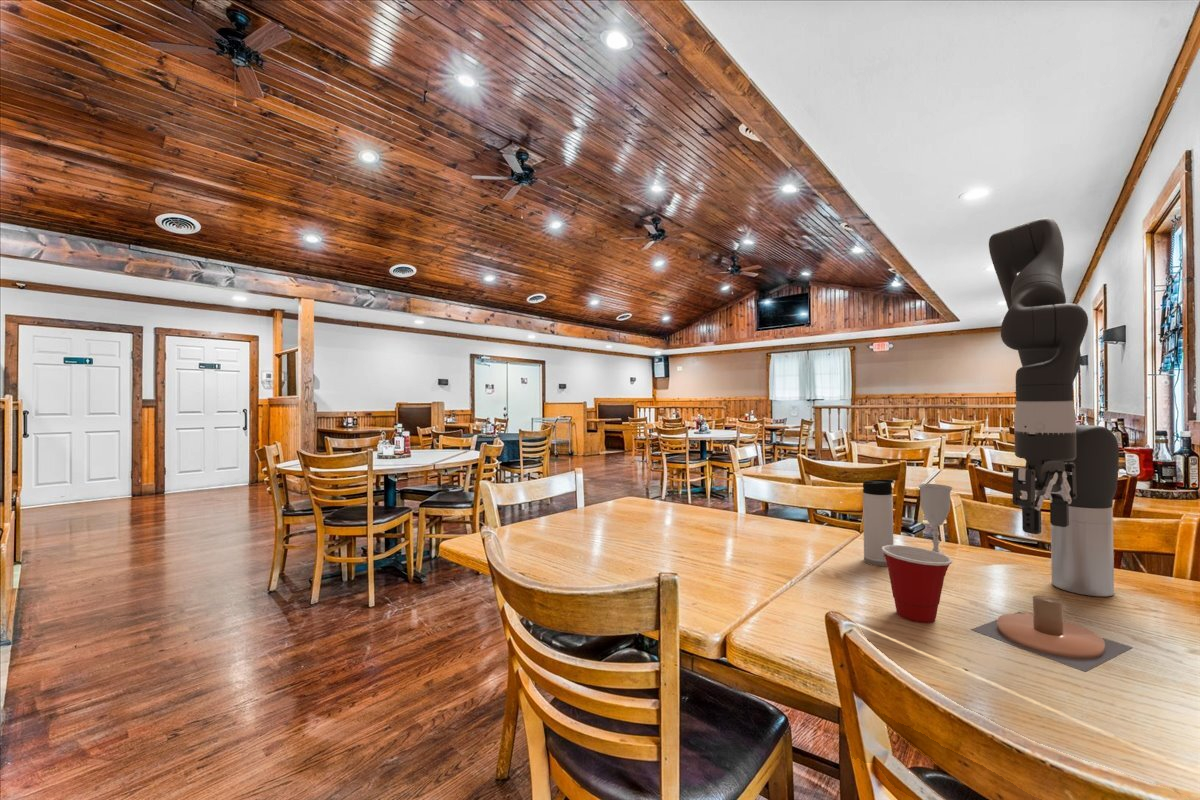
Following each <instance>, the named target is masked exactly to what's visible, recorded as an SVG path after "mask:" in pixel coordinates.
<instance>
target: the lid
mask: <svg viewBox="0 0 1200 800" xmlns="http://www.w3.org/2000/svg"><path fill="white" fill-rule="evenodd" d="M1063 606H1064V603H1063V601H1062V600H1061V599H1059V598H1056V597H1053V596H1049V595H1041V594H1040V595H1039V594H1037V595H1033V596H1032V613H1031V614H1030V613H1025V614H1014V613H1007V614H1003V615H1000V616H998V618H997V619H996V620H997V629H998V631H999V632H1000V633H1001V634H1002V635H1003V636H1005V637H1006V638H1008V639H1010V640H1011V641H1013V642H1015V643H1018V644H1020V645H1022V646H1025V647H1028V648H1031V649H1034V650H1037V651H1040V652H1044V653H1048V654H1053V655H1057V656H1063V657H1070V658H1096V657H1100V656H1102V655H1103V654H1104V653H1105V642H1104V640H1103V639H1102V638H1103V637H1102V636H1101V635H1099V634H1097V633H1095V632H1094V631H1092V630H1090V629H1088V628H1086V627H1083V626H1081V625H1079V624H1075V623H1072V622H1070V621H1066V620H1064V617H1063V616H1064V612H1063V611H1064V609H1063ZM1101 637H1102V638H1101Z"/></svg>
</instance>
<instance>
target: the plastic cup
mask: <svg viewBox="0 0 1200 800" xmlns="http://www.w3.org/2000/svg"><path fill="white" fill-rule="evenodd" d="M931 550H932V549H931ZM931 550H930V549H927V548H922V547H917V546H916V547H915V546H909V545H900V544H893V545H886V546H883V547H882V551H883V552H884V554H885V558H886V561H887V566H886V568H887V569H888V575H889V580H890V587H891V592H892V598H893V599H894V600H893V601H894V605H895V611H896V613H897V616H899V617H900V618H901V619H904V620H906V621H910V622H912V623H913V622H914V623H918V624H929V623H933V622H935V621H936V619H937V613H938V608H939V605H940V601H941V596H942V591H943V586H944V580H945V577H946V575H947V571H948V568H949V566H950V565H951V564H952V563H953V559H952V558H951V557H950V556H948V555H946V554H945V553H944V554H945V555H944V554H941V553H938V552H935V551H931Z"/></svg>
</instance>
